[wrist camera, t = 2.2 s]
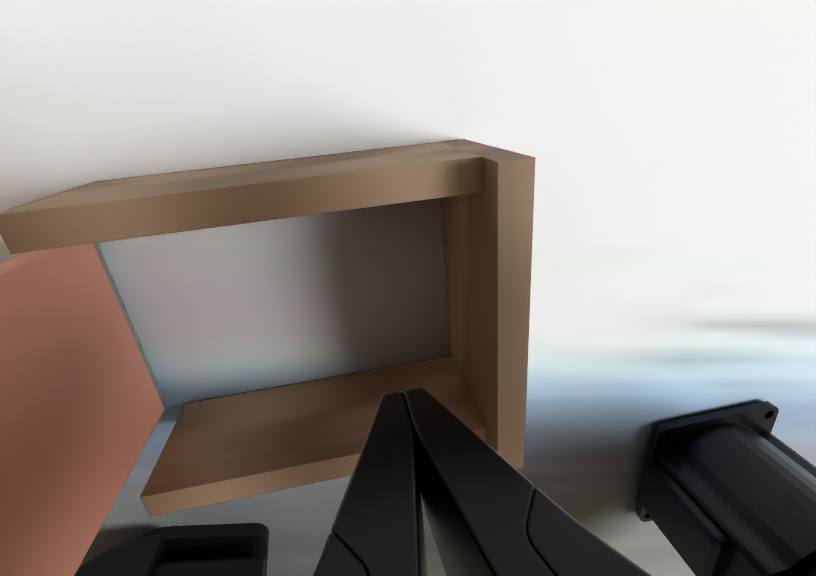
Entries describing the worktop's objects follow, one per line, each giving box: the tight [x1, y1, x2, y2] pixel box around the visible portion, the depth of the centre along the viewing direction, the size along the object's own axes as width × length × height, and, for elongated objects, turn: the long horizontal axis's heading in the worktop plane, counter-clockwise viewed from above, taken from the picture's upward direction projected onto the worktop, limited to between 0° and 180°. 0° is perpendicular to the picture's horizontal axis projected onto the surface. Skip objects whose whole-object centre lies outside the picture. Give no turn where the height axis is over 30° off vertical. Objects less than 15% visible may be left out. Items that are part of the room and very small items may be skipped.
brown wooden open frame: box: [0, 139, 535, 517], centre depth 12 cm, size 11×9×5 cm
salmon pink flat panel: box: [0, 243, 168, 576], centre depth 9 cm, size 1×7×9 cm, turn 5°
